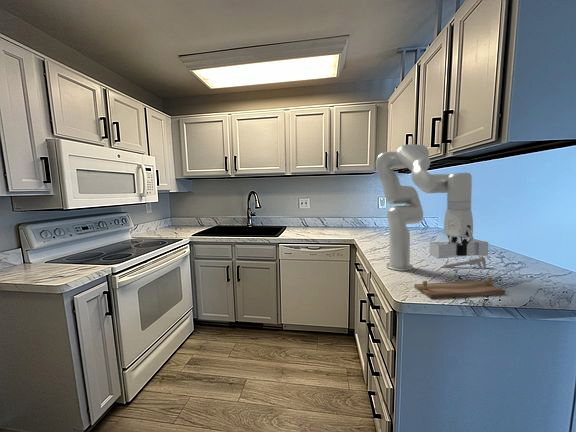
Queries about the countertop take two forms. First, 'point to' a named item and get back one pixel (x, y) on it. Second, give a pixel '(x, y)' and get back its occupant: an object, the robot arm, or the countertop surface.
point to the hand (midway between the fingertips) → (458, 253)
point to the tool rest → (458, 289)
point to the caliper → (468, 262)
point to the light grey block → (451, 249)
